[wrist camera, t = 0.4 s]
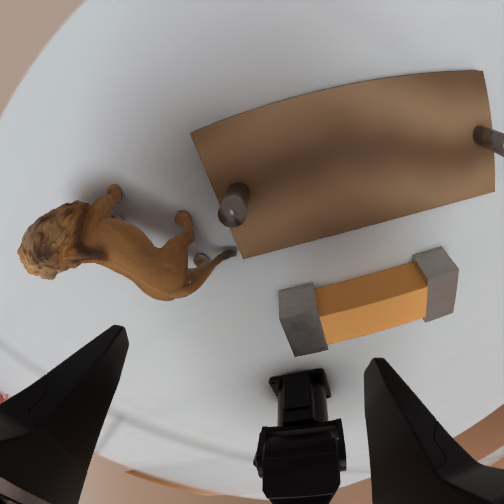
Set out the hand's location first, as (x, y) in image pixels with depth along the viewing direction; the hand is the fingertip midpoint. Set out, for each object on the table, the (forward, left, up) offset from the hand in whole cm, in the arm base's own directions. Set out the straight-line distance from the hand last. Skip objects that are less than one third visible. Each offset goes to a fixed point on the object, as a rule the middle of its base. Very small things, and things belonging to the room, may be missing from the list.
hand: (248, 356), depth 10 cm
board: (+2, -8, -13) cm, 16 cm away
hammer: (-10, -6, -13) cm, 18 cm away
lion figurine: (+1, +9, -14) cm, 17 cm away
